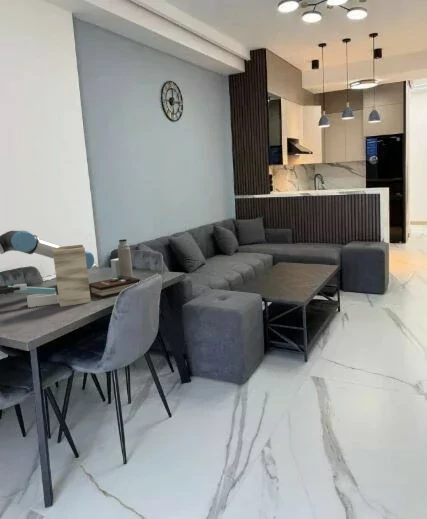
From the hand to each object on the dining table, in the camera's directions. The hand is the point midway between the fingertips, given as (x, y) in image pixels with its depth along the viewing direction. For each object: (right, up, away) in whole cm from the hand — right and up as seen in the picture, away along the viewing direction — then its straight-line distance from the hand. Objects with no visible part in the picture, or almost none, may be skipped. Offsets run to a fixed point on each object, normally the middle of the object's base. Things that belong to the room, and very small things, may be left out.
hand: (26, 286), depth 239 cm
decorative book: (+43, -5, +22) cm, 49 cm away
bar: (+2, -4, +1) cm, 4 cm away
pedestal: (+26, -9, +3) cm, 27 cm away
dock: (+7, -10, +4) cm, 13 cm away
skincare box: (+40, 0, +54) cm, 67 cm away
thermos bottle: (+46, 0, +46) cm, 65 cm away
